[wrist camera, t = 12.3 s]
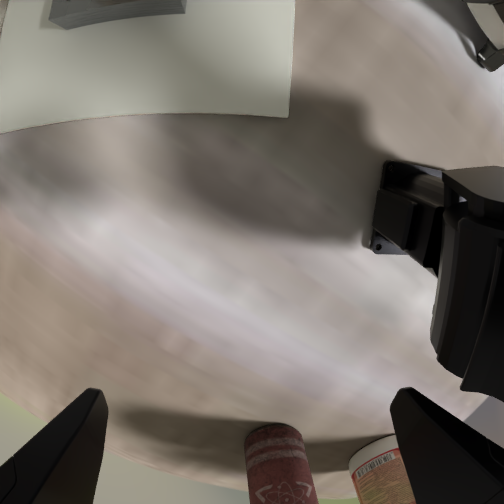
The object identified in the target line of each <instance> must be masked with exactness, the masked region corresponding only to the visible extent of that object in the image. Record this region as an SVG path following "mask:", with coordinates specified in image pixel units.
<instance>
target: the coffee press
mask: <svg viewBox="0 0 504 504" xmlns="http://www.w3.org/2000/svg"><path fill="white" fill-rule="evenodd" d="M462 1H463V2H466V3H467V5H468V7H469V9H470V11H471V12H472V14H473V16H474V18H475V19H476V21H477V23H478V24H479V26H480V27H481V29H482V30H483V32H484V33H485V34H486V36H487V37H488V41H487V43H486V44H485V45H484V46H483V48H482V49H481V50H480V51H479V52H478V54H477V60H478V62H479V63H481V64H482V65H483V66H484V67H485V68H486V69H487V70H488V71H489V72H493V71H495V70H496V69H498V68H499V67H500V66H502V65H503V64H504V0H462Z"/></svg>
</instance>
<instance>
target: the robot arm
mask: <svg viewBox="0 0 504 504" xmlns="http://www.w3.org/2000/svg"><path fill="white" fill-rule="evenodd" d="M390 165H392V170H391V171H389V166H390ZM372 226H373V233H372V238H371V243H370V249H371V250H372V251H373V252H374V253H375V254H397V255H409V256H410V257H412V258H413V259H414V260H415V261H417V262H418V263H419V264H420V265H421V266H423V267H424V268H426V269H427V270H428V271H429V272H431V273H432V274H433V275H434V276H435V277H437V278H438V282H437V290H436V297H435V304H434V305H433V312H432V314H433V316H432V322H431V327H430V340H431V342H432V345H433V347H434V349H435V352H436V353H437V361H438V362H439V363H440V364H441V365H442V366H443V367H444V368H445V369H446V370H448V371H450V372H451V373H453V374H454V375H456V376H458V377H460V378H463V380H462V383H461V386H460V390H462V391H466V392H479V393H483V394H486V395H489V396H493V397H495V398H497V399H499V400H501V401H503V402H504V167H499V166H485V167H474V168H464V169H454V170H444V171H441V170H437V169H432V168H428V167H423V166H418V165H413V164H408V163H402V162H397V161H391V160H387V161H386V162H385V163H384V164H383V169H382V177H381V184H380V189H379V190H378V192H377V199H376V205H375V211H374V217H373V223H372ZM377 244H379V247H378V248H376V245H377ZM390 413H391V417H392V421H393V426H394V430H395V434H396V439H397V443H398V447H399V451H400V454H401V457H402V460H403V463H404V466H405V469H406V472H407V475H408V479H409V482H410V485H411V488H412V492H413V495H414V498H415V502H416V504H504V448H502V447H500V446H499V445H497V444H496V443H494V442H492V441H491V440H489V439H487V438H486V437H485V436H483V435H482V434H480V433H479V432H477V431H476V430H474V429H473V428H471V427H470V426H468V425H467V424H465V423H464V422H462V421H461V420H459V419H458V418H456V417H455V416H453V415H452V414H450V413H449V412H448V411H446V410H445V409H443V408H442V407H440V406H439V405H437V404H436V403H434V402H433V401H431V400H430V399H428V398H427V397H426V396H424V395H423V394H421V393H420V392H418V391H417V390H415V389H414V388H412V387H406V388H401V389H400V390H399V391H398V392H397V394H396V396H395V398H394V399H393V401H392V403H391V405H390ZM107 420H108V406H107V403H106V400H105V397H104V394H103V392H102V390H100V389H95V388H88V389H86V390H85V391H84V392H83V393H82V394H80V395H79V396H78V397H77V398H76V399H75V400H74V401H73V402H72V403H70V404H69V405H68V406H67V407H66V408H65V409H64V410H63V411H62V412H60V413H59V414H58V415H57V416H56V417H55V418H54V419H53V420H52V421H50V422H49V423H48V424H47V425H46V426H45V427H44V428H43V429H42V430H40V431H39V432H38V433H37V434H36V435H35V436H34V437H33V438H32V439H30V440H29V441H28V442H27V443H26V444H25V445H24V446H23V447H22V448H21V449H20V450H18V451H17V452H16V453H15V454H14V455H13V456H12V457H11V458H9V459H8V460H7V461H6V462H5V463H4V464H3V465H1V466H0V504H93V499H94V495H95V490H96V485H97V481H98V475H99V472H100V467H101V463H102V458H103V452H104V443H105V435H106V427H107Z"/></svg>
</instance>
